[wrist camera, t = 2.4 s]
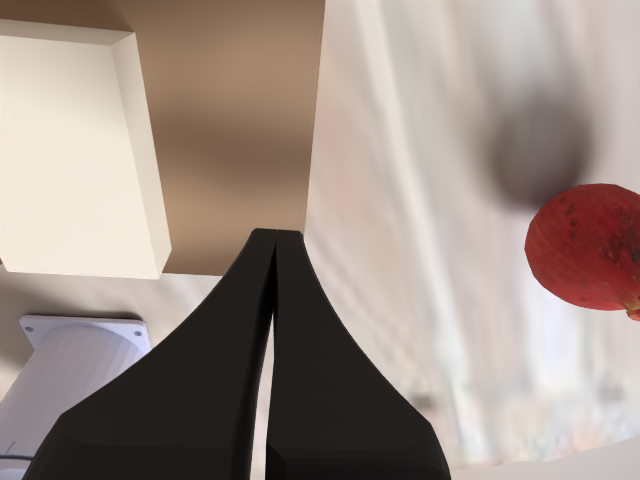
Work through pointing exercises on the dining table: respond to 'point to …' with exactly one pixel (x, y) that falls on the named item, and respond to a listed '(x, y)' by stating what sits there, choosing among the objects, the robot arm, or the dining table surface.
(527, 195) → the dining table surface
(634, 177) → the dining table surface
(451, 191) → the dining table surface
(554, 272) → the pomegranate
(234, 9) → the brown wooden block
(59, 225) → the cream rectangular slab
